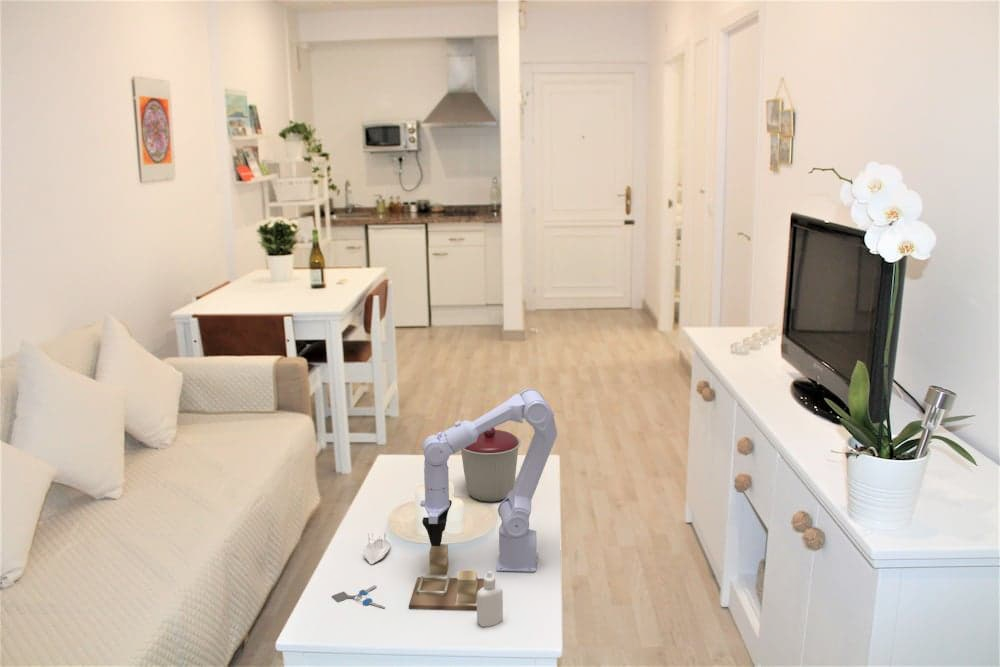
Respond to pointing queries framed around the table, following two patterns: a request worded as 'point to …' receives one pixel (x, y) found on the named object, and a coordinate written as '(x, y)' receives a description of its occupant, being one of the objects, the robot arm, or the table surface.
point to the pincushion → (376, 549)
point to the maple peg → (439, 559)
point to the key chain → (344, 596)
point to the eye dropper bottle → (489, 603)
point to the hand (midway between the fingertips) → (438, 537)
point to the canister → (491, 465)
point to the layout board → (447, 592)
